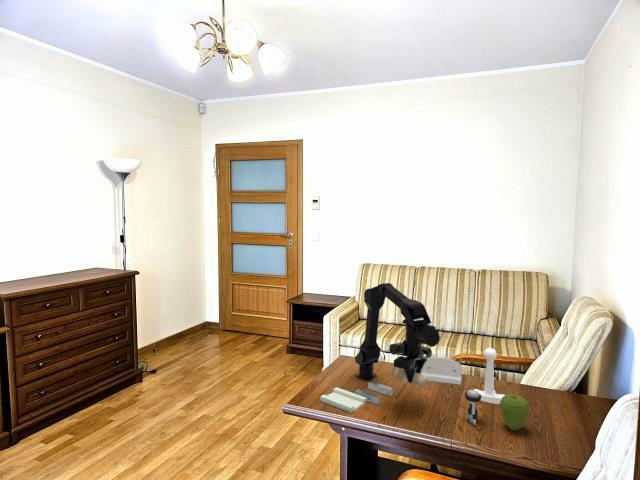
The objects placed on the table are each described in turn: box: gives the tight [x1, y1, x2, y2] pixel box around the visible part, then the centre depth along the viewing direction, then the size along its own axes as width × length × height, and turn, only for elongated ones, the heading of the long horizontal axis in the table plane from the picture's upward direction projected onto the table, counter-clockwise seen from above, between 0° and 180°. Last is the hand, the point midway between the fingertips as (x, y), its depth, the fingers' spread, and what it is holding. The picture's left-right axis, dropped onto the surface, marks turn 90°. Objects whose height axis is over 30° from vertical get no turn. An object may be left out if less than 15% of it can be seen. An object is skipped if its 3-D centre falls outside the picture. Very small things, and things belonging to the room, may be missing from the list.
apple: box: [499, 393, 530, 432], centre depth 135 cm, size 9×8×12 cm
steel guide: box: [355, 380, 394, 406], centre depth 159 cm, size 11×10×2 cm
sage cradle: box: [319, 387, 368, 414], centre depth 153 cm, size 10×14×2 cm
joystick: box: [473, 347, 506, 405], centre depth 156 cm, size 11×8×20 cm
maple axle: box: [391, 366, 428, 388], centre depth 149 cm, size 12×4×4 cm, turn 51°
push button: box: [464, 389, 482, 426], centre depth 140 cm, size 7×5×10 cm
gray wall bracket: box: [420, 356, 463, 386], centre depth 175 cm, size 17×5×10 cm, turn 72°
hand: (412, 380), depth 148 cm, fingers closed on maple axle, 4 cm apart
